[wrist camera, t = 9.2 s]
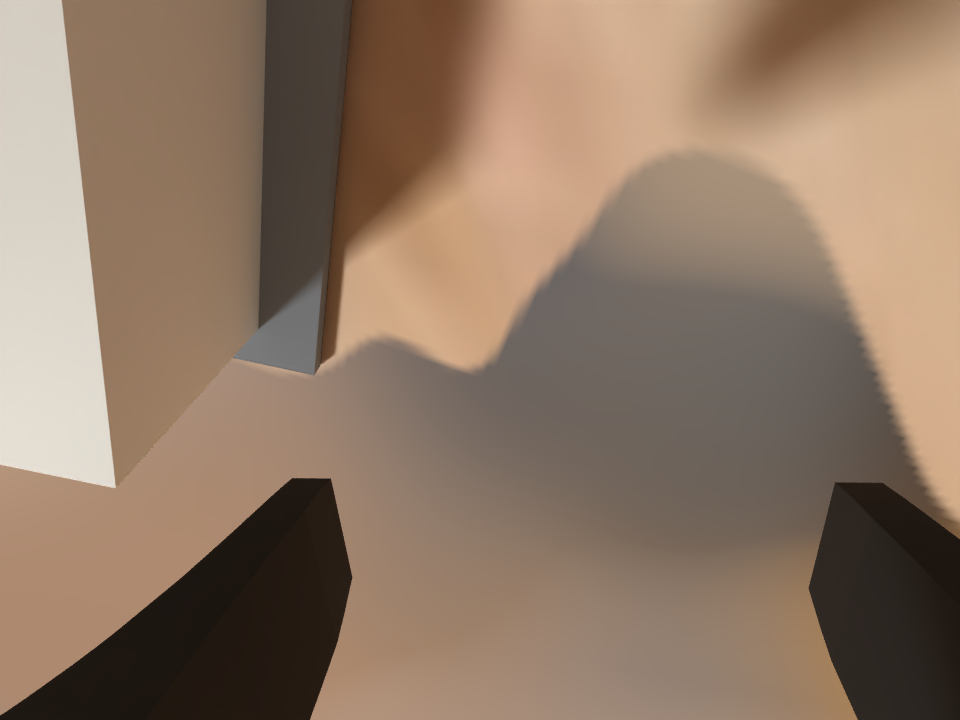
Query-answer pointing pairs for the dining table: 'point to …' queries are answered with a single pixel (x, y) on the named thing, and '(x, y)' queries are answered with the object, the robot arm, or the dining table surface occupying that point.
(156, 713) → the robot arm
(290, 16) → the mat
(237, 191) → the block
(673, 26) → the dining table surface
